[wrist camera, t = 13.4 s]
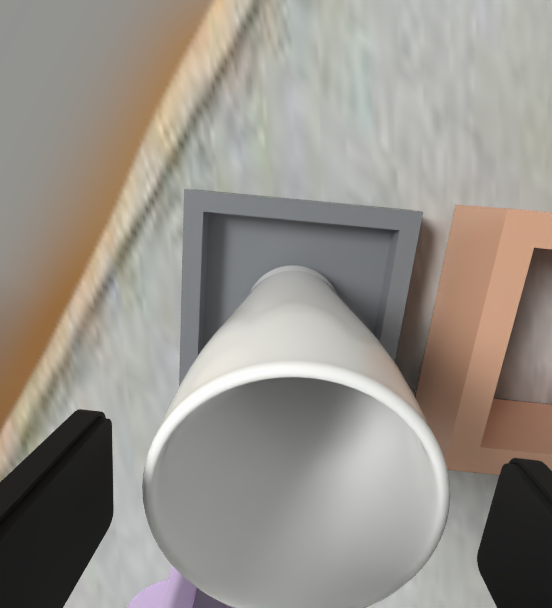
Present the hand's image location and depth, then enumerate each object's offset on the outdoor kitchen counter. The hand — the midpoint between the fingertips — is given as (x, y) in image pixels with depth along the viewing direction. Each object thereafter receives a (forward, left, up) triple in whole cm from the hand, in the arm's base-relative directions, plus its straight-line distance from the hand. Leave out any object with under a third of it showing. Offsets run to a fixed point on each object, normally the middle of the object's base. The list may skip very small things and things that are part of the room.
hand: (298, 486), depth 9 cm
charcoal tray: (0, 0, -15) cm, 15 cm away
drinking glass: (0, 0, -14) cm, 14 cm away
